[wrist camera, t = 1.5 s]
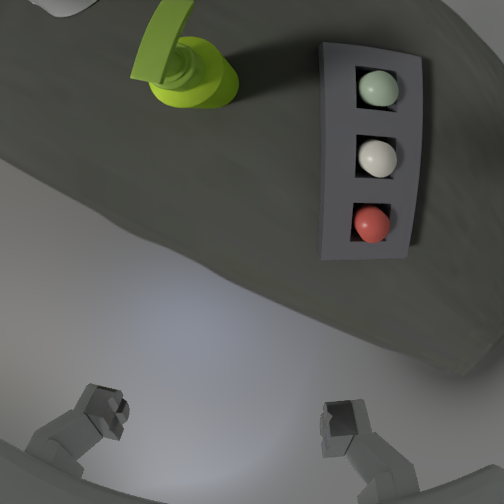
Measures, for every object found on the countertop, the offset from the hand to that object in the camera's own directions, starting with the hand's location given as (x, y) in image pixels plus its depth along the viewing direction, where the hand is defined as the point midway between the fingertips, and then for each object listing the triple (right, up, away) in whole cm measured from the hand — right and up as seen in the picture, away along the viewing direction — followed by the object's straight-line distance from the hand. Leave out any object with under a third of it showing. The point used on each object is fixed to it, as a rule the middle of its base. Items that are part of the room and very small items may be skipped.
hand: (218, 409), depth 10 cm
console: (+15, +18, +23) cm, 33 cm away
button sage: (+15, +25, +18) cm, 34 cm away
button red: (+16, +10, +25) cm, 31 cm away
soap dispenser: (-3, +26, +20) cm, 33 cm away
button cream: (+15, +17, +21) cm, 32 cm away
